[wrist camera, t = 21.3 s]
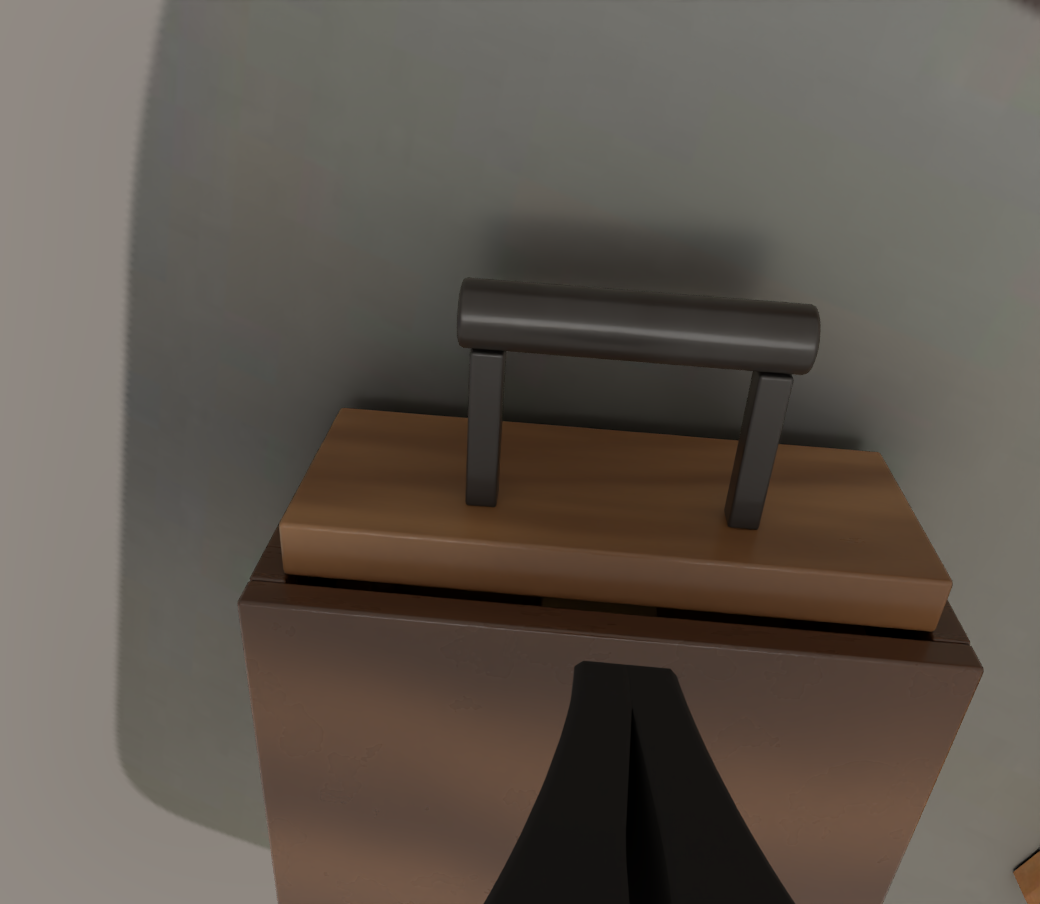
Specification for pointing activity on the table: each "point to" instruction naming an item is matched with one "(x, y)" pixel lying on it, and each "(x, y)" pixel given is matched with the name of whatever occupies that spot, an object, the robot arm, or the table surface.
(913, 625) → the drawer
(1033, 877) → the arch
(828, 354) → the table surface
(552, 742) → the cabinet
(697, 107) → the table surface
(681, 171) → the table surface
